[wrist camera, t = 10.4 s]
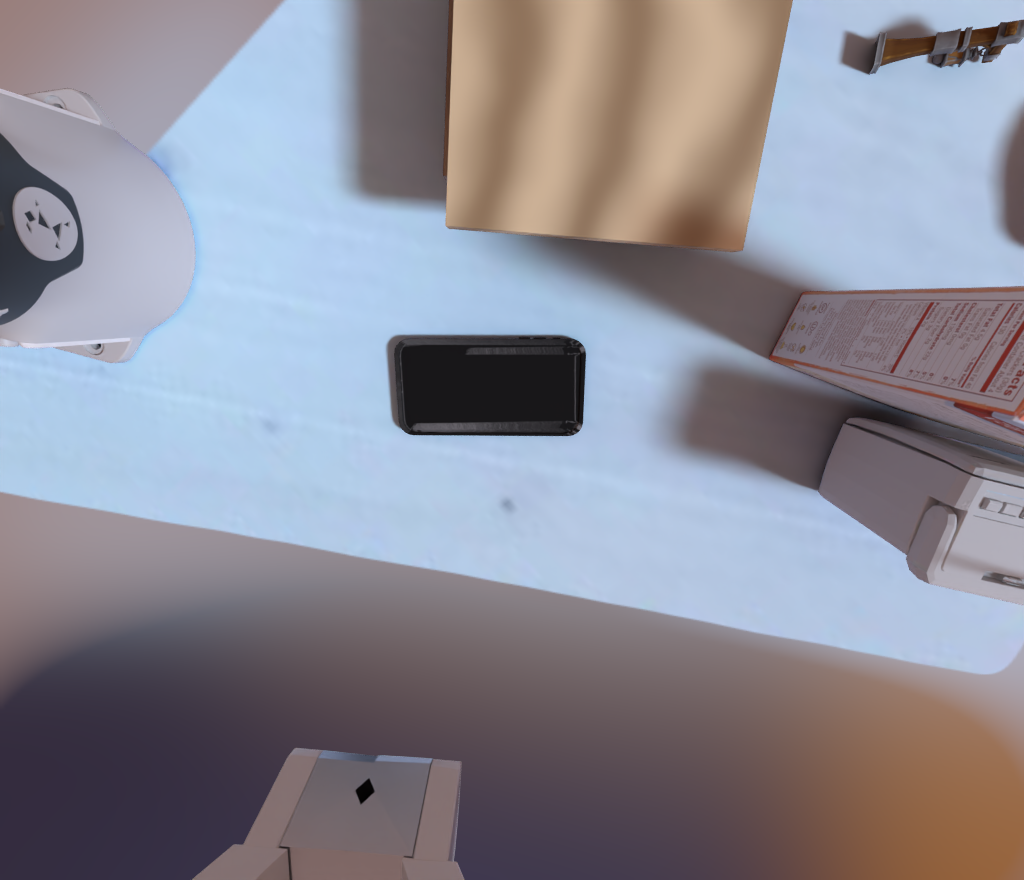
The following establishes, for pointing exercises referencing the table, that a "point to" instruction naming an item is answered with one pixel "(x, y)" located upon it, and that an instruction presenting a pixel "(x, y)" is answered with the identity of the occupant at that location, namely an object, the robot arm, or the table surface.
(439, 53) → the table surface
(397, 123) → the table surface
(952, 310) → the cracker box
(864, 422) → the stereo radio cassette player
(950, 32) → the wooden post with brackets
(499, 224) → the oak plank
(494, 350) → the phone
